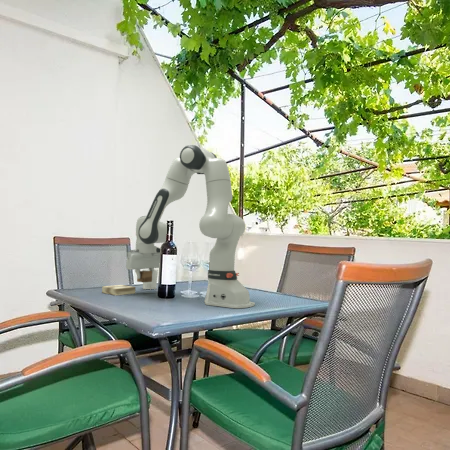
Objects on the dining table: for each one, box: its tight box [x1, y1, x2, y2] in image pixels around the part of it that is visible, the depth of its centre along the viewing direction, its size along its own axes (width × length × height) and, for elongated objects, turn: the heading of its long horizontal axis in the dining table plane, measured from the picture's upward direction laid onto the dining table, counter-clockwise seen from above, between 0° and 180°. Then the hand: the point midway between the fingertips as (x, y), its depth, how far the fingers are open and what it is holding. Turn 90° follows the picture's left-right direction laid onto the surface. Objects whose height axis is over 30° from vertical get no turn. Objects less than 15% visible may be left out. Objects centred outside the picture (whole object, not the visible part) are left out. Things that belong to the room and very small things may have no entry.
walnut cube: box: [136, 270, 152, 283], centre depth 204 cm, size 5×5×5 cm
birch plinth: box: [101, 284, 136, 296], centre depth 202 cm, size 11×11×3 cm
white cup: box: [142, 268, 159, 290], centre depth 220 cm, size 8×8×10 cm
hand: (144, 278), depth 204 cm, fingers closed on walnut cube, 5 cm apart
